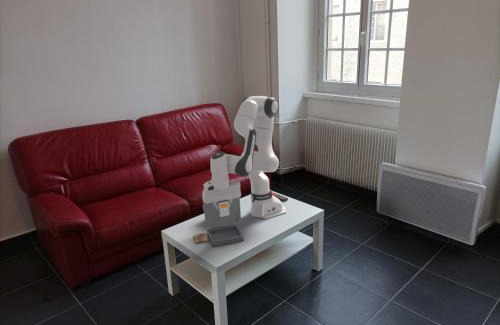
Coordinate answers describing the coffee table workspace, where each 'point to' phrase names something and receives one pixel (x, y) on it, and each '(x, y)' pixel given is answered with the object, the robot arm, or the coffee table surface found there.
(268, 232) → the coffee table surface
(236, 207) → the hard drive box
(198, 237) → the board
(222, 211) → the block
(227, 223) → the lid
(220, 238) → the case
